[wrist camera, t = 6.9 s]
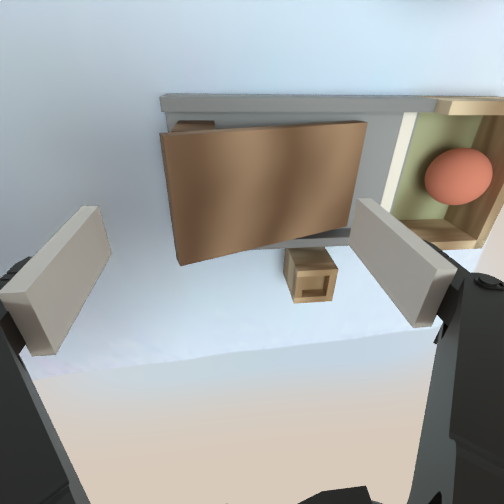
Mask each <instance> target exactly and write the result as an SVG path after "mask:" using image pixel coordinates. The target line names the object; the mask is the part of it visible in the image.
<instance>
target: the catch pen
mask: <svg viewBox="0 0 504 504" xmlns="http://www.w3.org/2000/svg"><path fill="white" fill-rule="evenodd" d="M417 97H425V98H433V99H438V102H437V105H436V108H435V112H420V113H419V116H418V120H417V123H416V127H415V130H414V134H413V138H412V141H411V145H410V148H409V152H408V155H407V159H406V163H405V166H404V170H403V173H402V177H401V180H400V184H399V187H398V191H397V195H396V198H395V202H394V205H393V209H392V212H391V215H393V216H394V217H395V218H396V219H397V220H399V221H400V222H401V223H402V224H404V225H405V226H406V227H407V228H408V229H410V230H411V231H412V232H413V233H415V234H416V235H417V236H418V237H420V238H421V239H424V240H426V241H428V242H430V243H432V244H434V245H436V246H437V247H438V248H439V249H441V250H456V249H477V248H482V247H483V245H484V243H485V241H486V239H487V237H488V235H489V233H490V231H491V229H492V226H493V224H494V222H495V220H496V218H497V216H498V214H499V212H500V210H501V208H502V206H503V204H504V97H493V96H417ZM455 148H472V149H475V150H478V151H480V152H481V153H483V154H484V155H485V156H486V157H487V158H488V159H489V161H490V163H491V165H492V170H493V175H492V180H491V183H490V185H489V187H488V188H487V189H486V191H485V192H484V193H483V194H482V195H481V196H480V197H478V198H477V199H475V200H473V201H471V202H469V203H465V204H461V205H447V204H443V203H440V202H438V201H436V200H435V199H433V198H432V197H431V196H430V194H429V193H428V191H427V189H426V187H425V174H426V171H427V169H428V167H429V165H430V164H431V162H432V161H433V160H434V159H435V158H436V157H438V156H439V155H440V154H442V153H444V152H446V151H448V150H451V149H455Z"/></svg>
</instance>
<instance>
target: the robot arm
mask: <svg viewBox="0 0 504 504" xmlns="http://www.w3.org/2000/svg"><path fill="white" fill-rule="evenodd" d="M348 244H349V246H350V247H351V248H352V250H353V251H354V252H355V253H356V255H357V256H358V257H359V259H360V260H361V261H362V263H363V264H364V265H365V266H366V268H367V269H368V270H369V272H370V273H371V274H372V275H373V277H374V278H375V279H376V281H377V282H378V283H379V285H380V286H381V287H382V288H383V290H384V291H385V292H386V294H387V295H388V296H389V298H390V299H391V300H392V301H393V303H394V304H395V305H396V307H397V308H398V309H399V310H400V312H401V313H402V314H403V316H404V317H405V318H406V320H407V321H408V322H409V323H410V325H411V326H412V327H413V328H419V327H431V326H432V324H433V322H434V320H435V317H436V315H438V316H439V317H440V318H441V319H442V321H443V324H442V326H441V328H440V330H439V332H438V334H437V336H436V339H435V340H434V343H435V344H437V349H436V354H435V360H434V365H433V370H432V376H431V382H430V387H429V393H428V399H427V405H426V410H425V415H424V421H423V426H422V432H421V437H420V443H419V449H418V454H417V460H416V465H415V471H414V477H413V482H412V488H411V492H410V496H409V499H408V502H407V504H504V282H502V281H501V280H499V279H497V278H495V277H492V276H490V275H487V274H482V273H470V272H468V271H467V270H466V269H465V268H463V267H462V266H461V265H460V264H458V263H457V262H456V261H455V260H453V259H452V258H449V256H448V255H447V254H446V253H444V252H442V250H441V249H439V248H438V247H437V246H436V245H434V244H432V243H430V242H428V241H426V240H424V239H421V238H420V237H418V236H417V235H416V234H415V233H413V232H412V231H411V230H410V229H408V228H407V227H406V226H405V225H404V224H402V223H401V222H400V221H399V220H397V219H396V218H395V217H394V216H393V215H391V214H390V213H389V212H388V211H386V210H385V209H384V208H383V207H381V206H380V205H379V204H378V203H377V202H375V201H374V200H373V199H372V198H357V202H356V207H355V212H354V217H353V221H352V226H351V231H350V236H349V240H348ZM111 254H112V253H111V249H110V246H109V242H108V238H107V235H106V231H105V227H104V224H103V220H102V216H101V213H100V209H99V206H82V207H81V208H80V209H79V210H78V211H77V212H76V213H75V214H74V215H73V216H72V217H71V218H70V219H69V220H68V221H67V222H66V223H65V224H64V225H63V226H62V227H61V228H60V229H59V230H58V231H57V232H56V233H55V234H54V235H53V236H52V238H51V239H50V240H49V241H48V242H47V243H46V244H45V245H44V246H43V247H42V248H41V249H40V250H39V251H38V252H37V253H36V254H35V255H34V256H33V257H27V258H25V259H23V260H22V261H20V262H18V263H16V264H15V265H14V266H13V267H12V268H11V269H10V270H9V271H8V272H7V274H5V275H4V276H3V277H2V278H1V279H0V504H90V501H89V499H88V497H87V496H86V493H85V491H84V489H83V487H82V485H81V483H80V481H79V478H78V476H77V474H76V472H75V470H74V468H73V466H72V464H71V462H70V459H69V457H68V455H67V453H66V451H65V449H64V447H63V445H62V443H61V441H60V439H59V436H58V434H57V432H56V430H55V428H54V426H53V424H52V422H51V420H50V417H49V415H48V413H47V411H46V409H45V407H44V405H43V403H42V401H41V399H40V397H39V394H38V393H37V390H36V388H35V386H34V384H33V382H32V380H31V378H30V375H29V373H28V371H27V369H26V367H25V365H24V363H23V361H22V359H21V357H20V356H19V353H20V352H21V350H22V349H23V347H24V346H25V345H26V346H27V348H28V350H29V352H30V354H31V355H32V356H44V355H56V353H57V351H58V350H59V348H60V346H61V344H62V342H63V341H64V339H65V337H66V335H67V333H68V332H69V330H70V328H71V326H72V324H73V323H74V321H75V319H76V317H77V315H78V314H79V312H80V310H81V308H82V306H83V305H84V303H85V301H86V299H87V297H88V296H89V294H90V292H91V290H92V288H93V287H94V285H95V283H96V281H97V279H98V278H99V276H100V274H101V272H102V270H103V269H104V267H105V265H106V263H107V261H108V260H109V258H110V256H111ZM298 504H382V503H379V502H376V501H372V500H371V499H370V496H369V493H368V490H367V487H366V486H360V487H352V488H345V489H336V490H329V491H322V492H320V493H318V494H316V495H314V496H312V497H310V498H308V499H306V500H304V501H302V502H300V503H298Z"/></svg>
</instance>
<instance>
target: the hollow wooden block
mask: <svg viewBox="0 0 504 504" xmlns="http://www.w3.org/2000/svg"><path fill="white" fill-rule="evenodd" d="M283 273H284V276H285V279H286V282H287V285H288V288H289V291H290V294H291V296H292V299H293V302H294V303H308V302H324V301H332V298H333V293H334V288H335V283H336V278H337V273H338V268H337V266H336V265H335V263H334V261H333V260H332V258H331V257H330V255H329V253H328V252H327V250H326V249H325V247H303V248H285V259H284V271H283Z"/></svg>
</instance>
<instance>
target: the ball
mask: <svg viewBox="0 0 504 504" xmlns="http://www.w3.org/2000/svg"><path fill="white" fill-rule="evenodd" d="M492 175H493V170H492V165H491V163H490V161H489V159H488V158H487V157H486V156H485V155H484V154H483V153H481V152H480V151H478V150H475V149H472V148H455V149H451V150H448V151H446V152H444V153H442V154H440V155H439V156H438V157H436V158H435V159H434V160H433V161H432V162H431V164H430V165H429V167H428V169H427V171H426V174H425V187H426V189H427V191H428V193H429V194H430V196H431V197H432V198H433V199H435V200H436V201H438V202H440V203H443V204H447V205H461V204H465V203H469V202H471V201H473V200H475V199H477V198H478V197H480V196H481V195H482V194H483V193H484V192H485V191H486V189H487V188H488V187H489V185H490V183H491V180H492Z"/></svg>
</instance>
